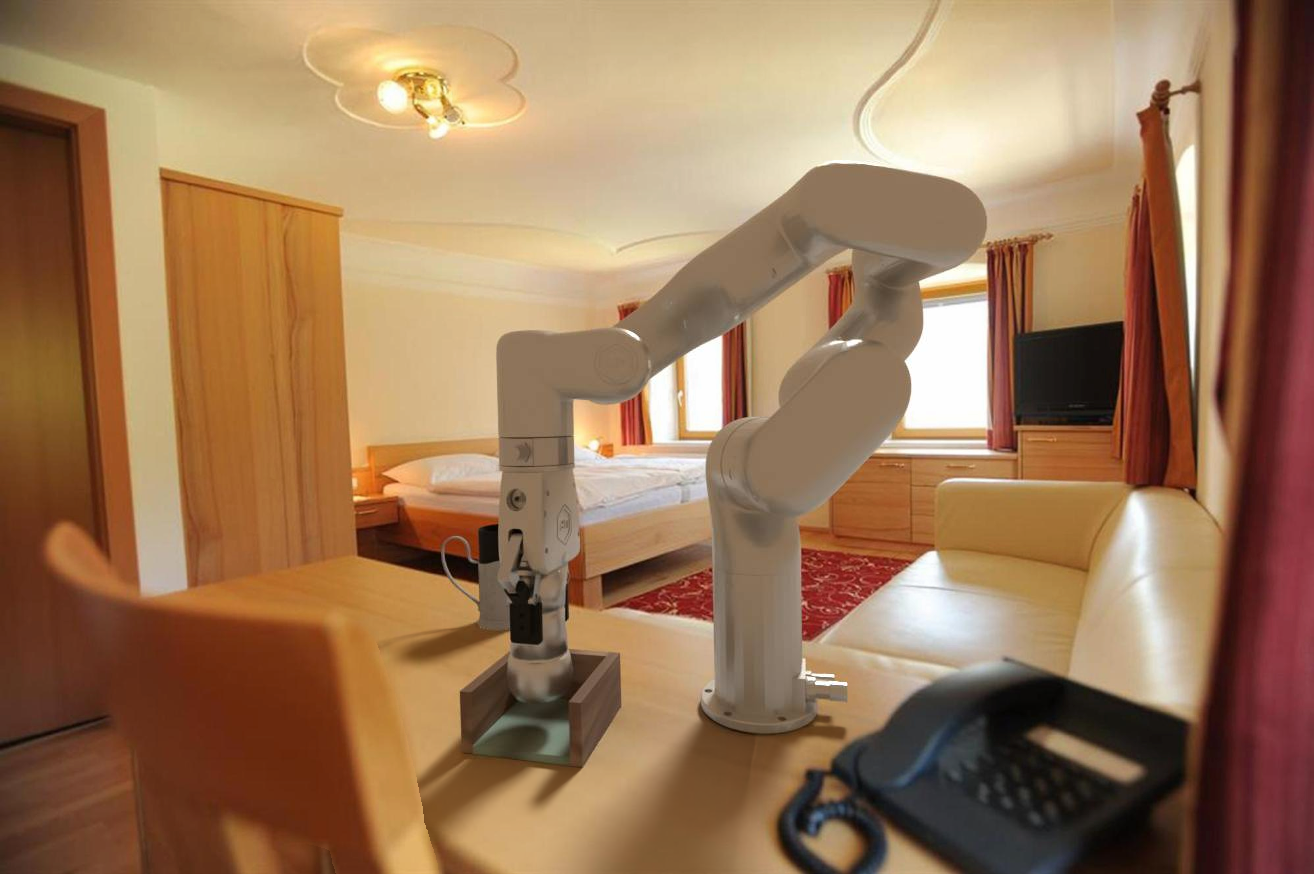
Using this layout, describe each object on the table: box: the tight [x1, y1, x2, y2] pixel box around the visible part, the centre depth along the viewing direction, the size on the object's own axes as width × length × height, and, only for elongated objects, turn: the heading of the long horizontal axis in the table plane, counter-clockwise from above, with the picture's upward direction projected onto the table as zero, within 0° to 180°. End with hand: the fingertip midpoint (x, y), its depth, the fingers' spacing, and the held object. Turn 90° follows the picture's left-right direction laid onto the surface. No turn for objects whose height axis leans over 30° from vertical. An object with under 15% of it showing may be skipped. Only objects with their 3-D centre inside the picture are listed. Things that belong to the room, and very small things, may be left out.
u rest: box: [459, 648, 622, 768], centre depth 63 cm, size 12×12×6 cm
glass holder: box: [440, 523, 510, 632], centre depth 96 cm, size 9×14×15 cm, turn 90°
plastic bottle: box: [507, 552, 573, 704], centre depth 62 cm, size 6×7×20 cm
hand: (541, 629), depth 62 cm, fingers closed on plastic bottle, 5 cm apart
